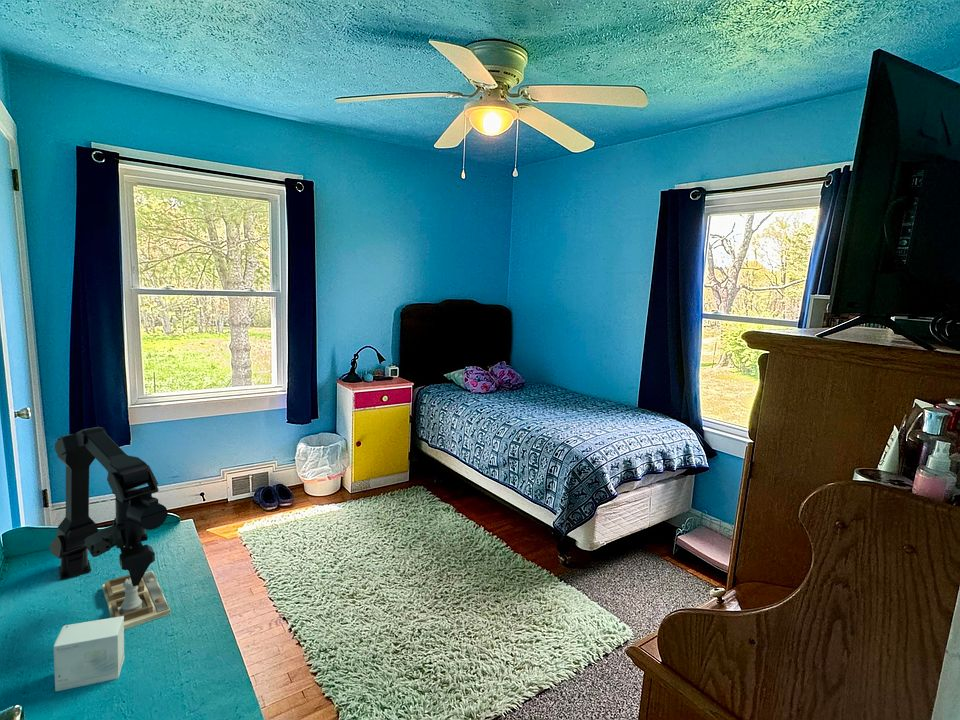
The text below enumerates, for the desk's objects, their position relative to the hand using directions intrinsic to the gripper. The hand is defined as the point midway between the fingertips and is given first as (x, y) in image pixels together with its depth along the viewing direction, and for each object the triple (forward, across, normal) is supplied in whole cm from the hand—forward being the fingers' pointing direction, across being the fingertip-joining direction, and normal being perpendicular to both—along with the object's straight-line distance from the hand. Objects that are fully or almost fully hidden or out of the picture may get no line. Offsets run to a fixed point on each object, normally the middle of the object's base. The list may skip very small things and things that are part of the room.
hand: (131, 575), depth 119 cm
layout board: (+10, -5, +2) cm, 12 cm away
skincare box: (+11, +16, -10) cm, 21 cm away
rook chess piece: (+9, 0, 0) cm, 9 cm away
